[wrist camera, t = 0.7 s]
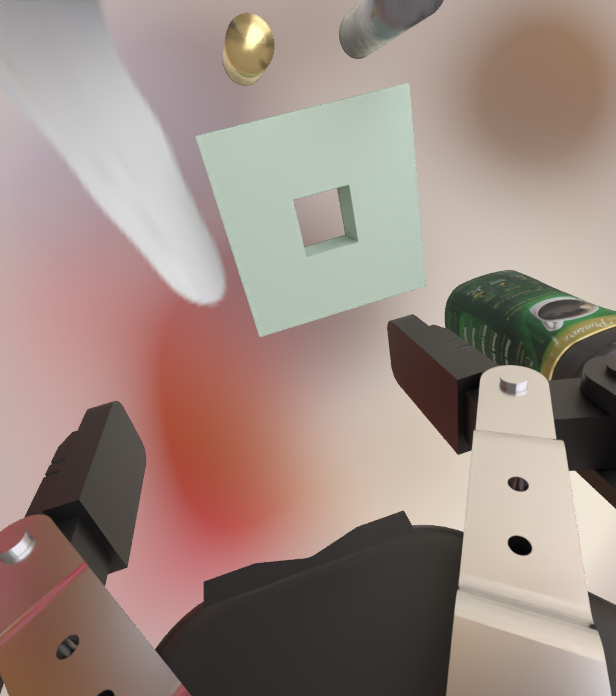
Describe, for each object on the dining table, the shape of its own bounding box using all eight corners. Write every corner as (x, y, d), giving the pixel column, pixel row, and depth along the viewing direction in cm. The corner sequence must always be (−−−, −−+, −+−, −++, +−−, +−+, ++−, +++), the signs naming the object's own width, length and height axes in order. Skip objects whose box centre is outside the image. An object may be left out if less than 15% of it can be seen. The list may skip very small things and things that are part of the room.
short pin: (216, 40, 28) (218, 18, 23) (257, 31, 28) (266, 8, 24) (230, 90, 29) (234, 78, 25) (268, 80, 30) (279, 67, 25)
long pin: (335, 13, 29) (393, -50, 20) (373, 5, 29) (446, -62, 20) (343, 62, 30) (399, 23, 21) (379, 53, 30) (449, 12, 22)
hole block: (196, 138, 30) (195, 136, 27) (389, 90, 32) (408, 82, 29) (255, 322, 38) (259, 337, 34) (408, 275, 39) (425, 285, 36)
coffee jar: (442, 350, 44) (580, 461, 28) (438, 285, 41) (595, 369, 24) (518, 326, 45) (694, 419, 29) (522, 260, 42) (726, 325, 25)
